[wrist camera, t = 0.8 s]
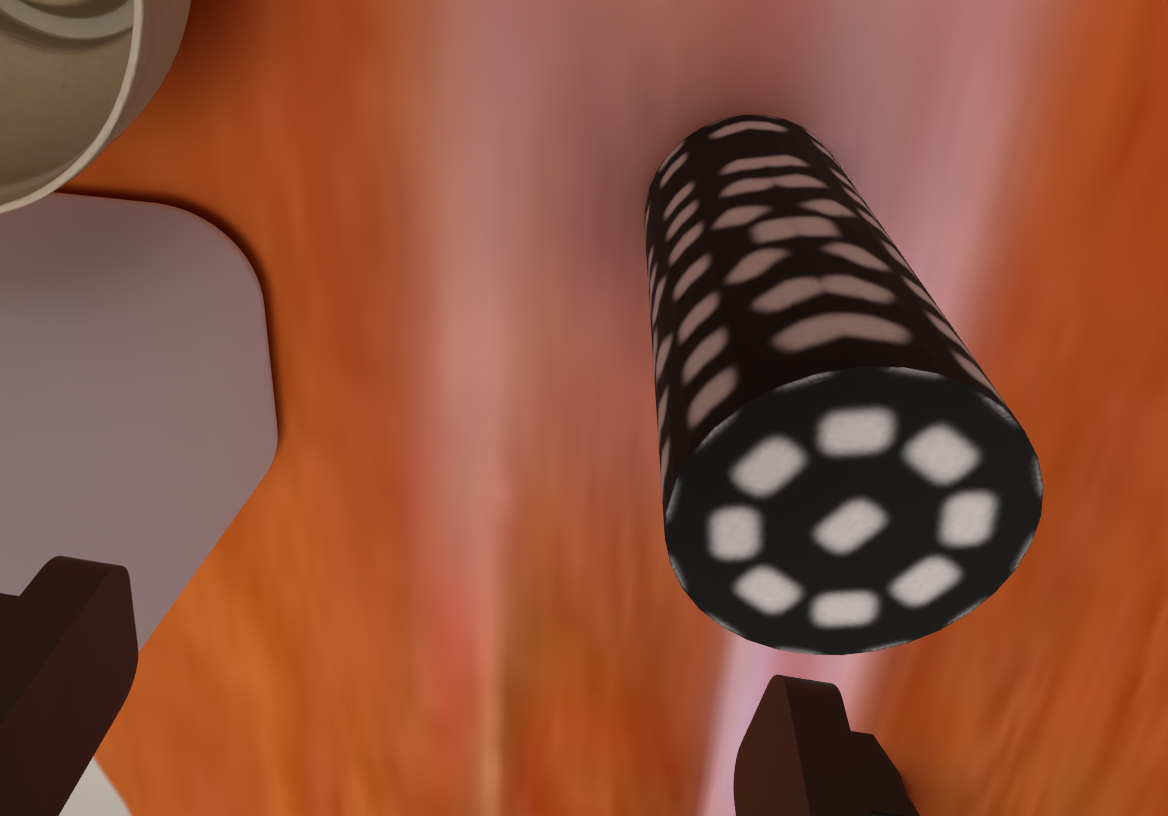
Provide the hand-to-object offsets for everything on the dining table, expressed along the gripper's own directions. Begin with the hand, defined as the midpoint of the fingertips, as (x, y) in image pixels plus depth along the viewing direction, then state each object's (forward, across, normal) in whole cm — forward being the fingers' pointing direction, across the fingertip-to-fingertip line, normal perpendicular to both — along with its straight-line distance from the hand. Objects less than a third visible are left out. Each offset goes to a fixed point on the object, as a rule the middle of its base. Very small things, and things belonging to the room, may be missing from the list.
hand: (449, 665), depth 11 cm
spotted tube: (+28, -8, +3) cm, 29 cm away
